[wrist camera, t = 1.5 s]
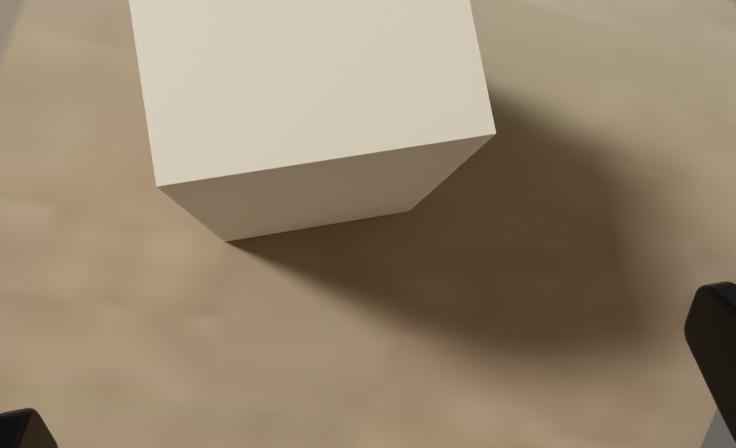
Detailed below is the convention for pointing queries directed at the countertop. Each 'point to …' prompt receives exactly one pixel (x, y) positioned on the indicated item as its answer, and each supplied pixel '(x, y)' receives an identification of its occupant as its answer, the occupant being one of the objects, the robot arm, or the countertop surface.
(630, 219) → the countertop surface
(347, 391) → the countertop surface
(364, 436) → the countertop surface
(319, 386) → the countertop surface
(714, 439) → the price rail
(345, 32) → the cream carton
